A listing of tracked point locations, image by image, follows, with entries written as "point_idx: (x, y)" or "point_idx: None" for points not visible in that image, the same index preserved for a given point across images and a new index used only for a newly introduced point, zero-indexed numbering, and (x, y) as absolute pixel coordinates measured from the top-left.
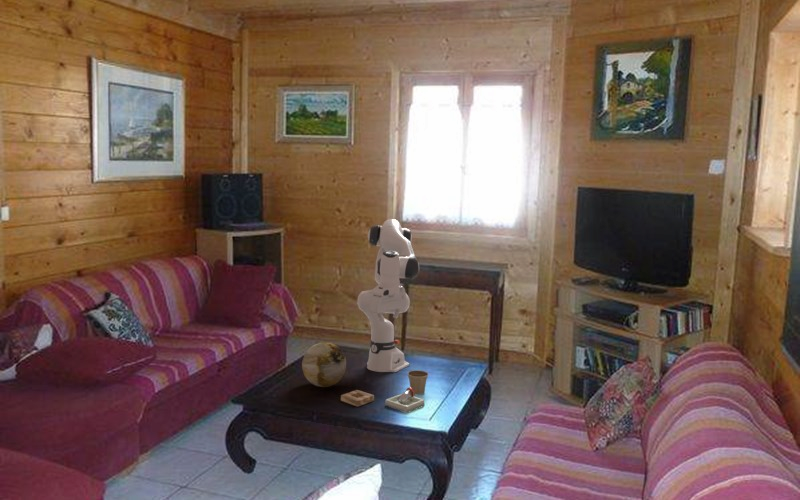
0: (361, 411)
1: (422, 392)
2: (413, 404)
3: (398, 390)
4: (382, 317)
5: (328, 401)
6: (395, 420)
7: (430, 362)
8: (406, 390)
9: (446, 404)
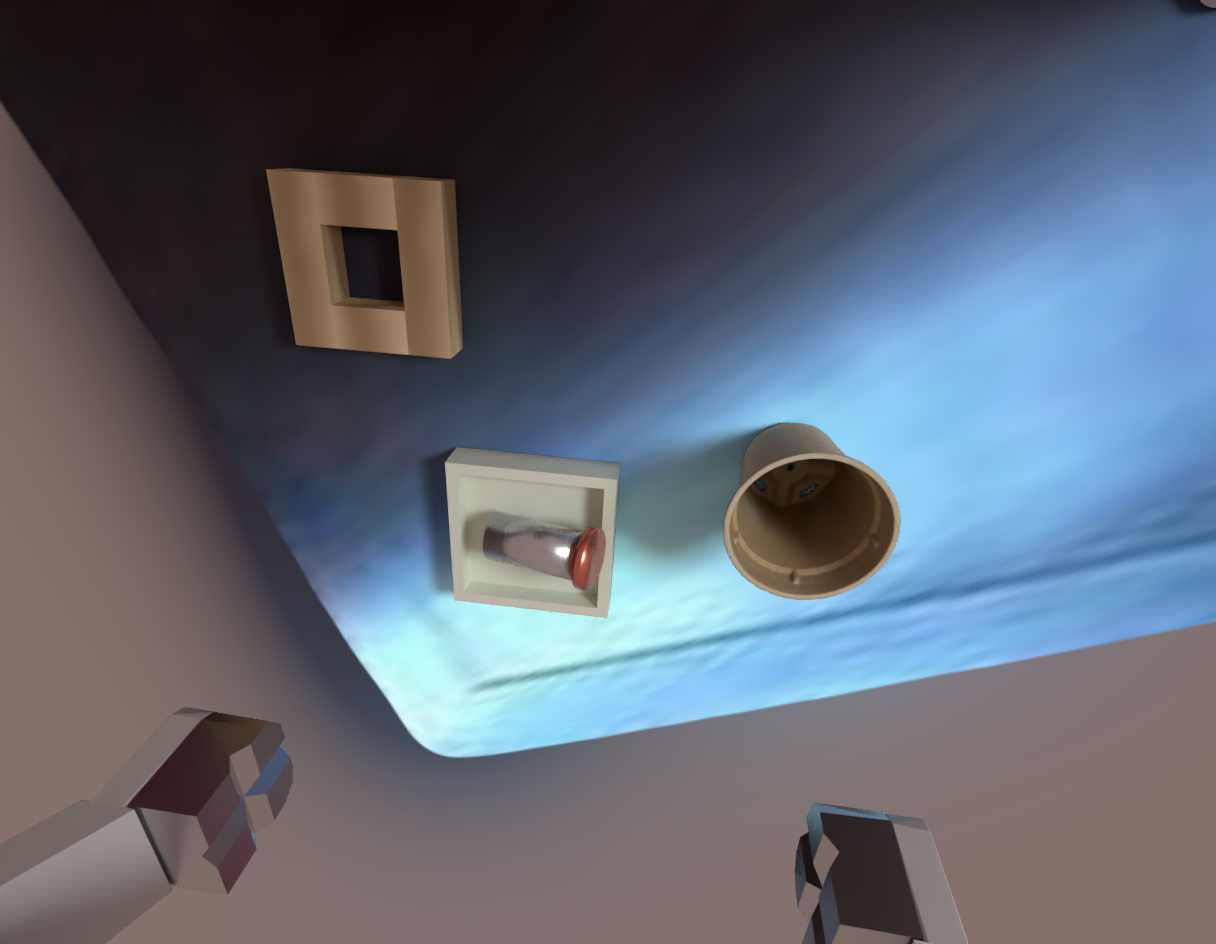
0: (288, 399)
1: (775, 509)
2: (511, 605)
3: (740, 349)
4: (134, 908)
5: (209, 105)
6: (351, 589)
7: None
8: (559, 554)
9: (704, 664)
